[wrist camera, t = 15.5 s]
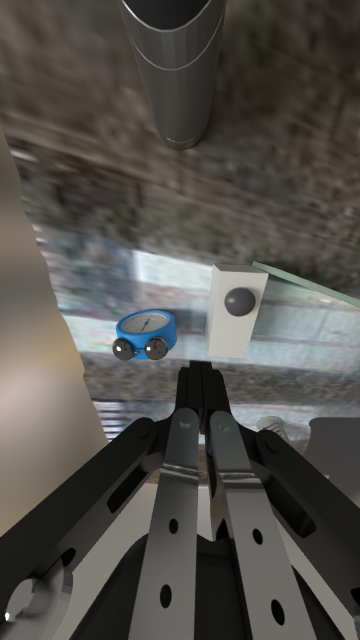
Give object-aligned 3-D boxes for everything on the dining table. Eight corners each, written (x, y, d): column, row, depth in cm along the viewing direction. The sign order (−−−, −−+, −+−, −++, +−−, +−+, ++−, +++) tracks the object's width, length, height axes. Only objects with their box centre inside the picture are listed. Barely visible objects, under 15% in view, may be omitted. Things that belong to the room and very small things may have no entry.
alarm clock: (176, 307, 41) (169, 339, 27) (178, 328, 43) (173, 366, 30) (128, 309, 42) (98, 342, 28) (133, 329, 45) (108, 367, 31)
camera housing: (213, 263, 35) (221, 272, 25) (249, 265, 35) (273, 275, 25) (204, 332, 43) (208, 360, 33) (233, 334, 43) (246, 363, 33)
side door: (251, 265, 34) (272, 274, 25) (253, 261, 34) (275, 268, 25) (337, 298, 36) (384, 317, 27) (340, 294, 36) (389, 312, 27)
